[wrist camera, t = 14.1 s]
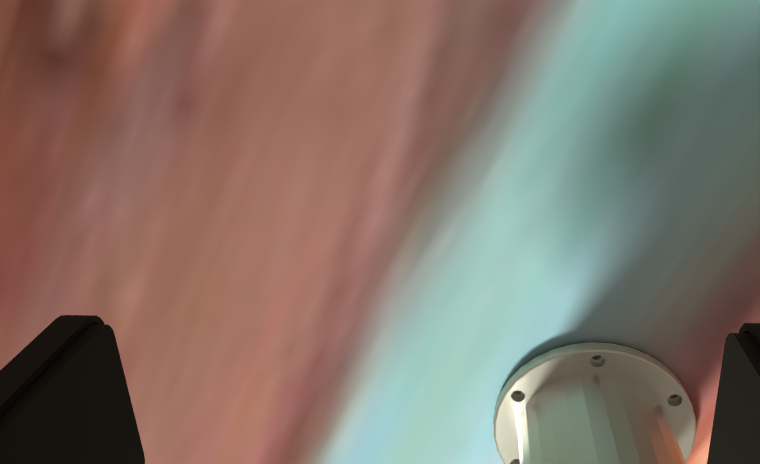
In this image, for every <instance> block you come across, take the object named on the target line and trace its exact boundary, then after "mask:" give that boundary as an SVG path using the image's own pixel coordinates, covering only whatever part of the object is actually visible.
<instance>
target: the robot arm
mask: <svg viewBox="0 0 760 464" xmlns="http://www.w3.org/2000/svg"><path fill="white" fill-rule="evenodd" d="M596 355H597V356H596ZM695 437H696V419H695V415H694V411H693V406H692V404H691V401H690V399H689V397H688V395H687V392H686V390H685V389H684V387H683V386H682V384H681V383H680V381H679V380H678V378H677V377H676V376H675V375H674V374H673V373H672V372H671V371H670V370H669V369H668V368H667V367H666V366H665V365H664V364H662V363H661V362H659V361H657V360H656V359H654V358H653V357H651V356H649V355H648V354H645V353H643V352H640V351H638V350H635V349H633V348H630V347H626V346H621V345H617V344H612V343H597V342H588V343H579V344H571V345H567V346H563V347H559V348H556V349H552V350H550V351H548V352H546V353H543V354H541V355H539V356H537V357H535V358H534V359H532V360H531V361H529V362H528V363H526V364H525V365H523V366H522V367H521V368H520V369H519V370H518V371H517V372H516V373H515V374H514V375H513V376H512V377H511V378H510V379H509V380H508V382H507V383H506V385H505V386H504V388H503V389H502V391H501V392H500V395H499V398H498V401H497V403H496V406H495V413H494V438H495V442H496V446H497V450H498V453H499V455H500V457H501V459H502V461H503V463H504V464H686V461H687V459H688V457H689V455H690V453H691V452H692V448H693V445H694V441H695ZM0 464H145V458H144V452H143V448H142V444H141V440H140V436H139V432H138V428H137V424H136V420H135V416H134V412H133V408H132V404H131V400H130V396H129V392H128V387H127V383H126V379H125V375H124V371H123V367H122V363H121V359H120V355H119V351H118V347H117V343H116V339H115V335H114V332H113V329H112V328H111V327H110V326H109V325H104V322H103V321H102V319H101V318H100V317H98V316H83V315H64V316H60V317H58V318H57V319H55V320H54V321H53V322H52V323H51V324H50V325H49V326H48V327H47V328H46V329H45V330H44V331H42V332H41V333H40V334H39V335H38V336H37V337H36V338H35V339H34V340H33V341H32V342H31V343H30V344H28V345H27V346H26V347H25V348H24V349H23V350H22V351H21V352H20V353H19V354H18V355H17V356H16V357H14V358H13V359H12V360H11V361H10V362H9V363H8V364H7V365H6V366H5V367H4V368H3V369H2V370H0ZM707 464H760V323H745V324H743V325H742V327H741V329H740V331H739V333H730V334H728V336H727V338H726V342H725V347H724V354H723V361H722V367H721V374H720V381H719V388H718V394H717V401H716V408H715V414H714V421H713V428H712V435H711V441H710V448H709V455H708V462H707Z"/></svg>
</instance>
